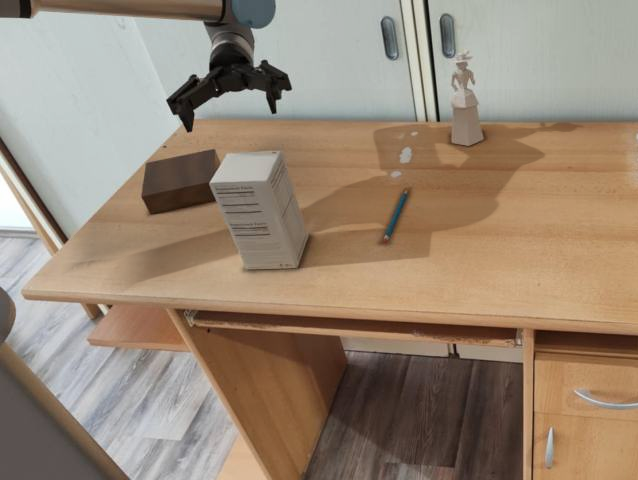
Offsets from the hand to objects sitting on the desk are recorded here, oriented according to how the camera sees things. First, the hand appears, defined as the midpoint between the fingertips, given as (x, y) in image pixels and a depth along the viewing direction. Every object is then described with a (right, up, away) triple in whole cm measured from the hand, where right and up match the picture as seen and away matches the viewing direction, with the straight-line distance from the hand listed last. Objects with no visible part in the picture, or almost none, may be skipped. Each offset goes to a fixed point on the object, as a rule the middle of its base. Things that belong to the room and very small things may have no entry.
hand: (228, 115), depth 92 cm
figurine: (+38, +8, +34) cm, 52 cm away
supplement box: (+5, -20, +10) cm, 23 cm away
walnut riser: (-19, -4, +27) cm, 34 cm away
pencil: (+25, -13, +15) cm, 32 cm away
